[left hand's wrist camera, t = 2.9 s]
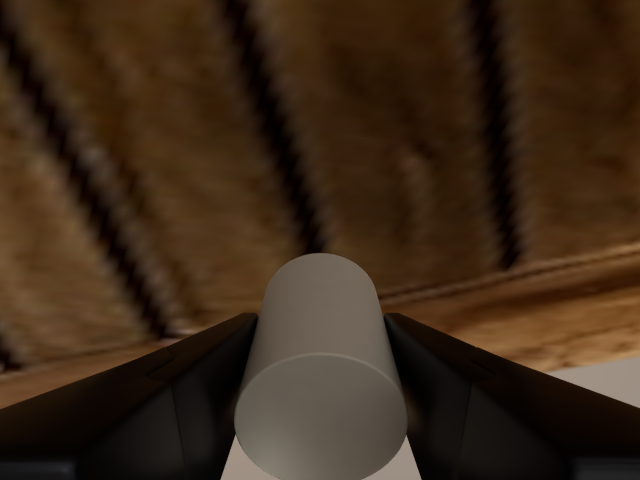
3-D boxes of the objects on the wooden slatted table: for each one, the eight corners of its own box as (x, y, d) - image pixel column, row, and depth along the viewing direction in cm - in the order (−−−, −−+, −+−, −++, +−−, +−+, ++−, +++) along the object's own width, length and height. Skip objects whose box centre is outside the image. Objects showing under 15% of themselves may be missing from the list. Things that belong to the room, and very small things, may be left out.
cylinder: (242, 314, 13) (200, 440, 8) (307, 229, 12) (300, 320, 7) (331, 368, 14) (338, 510, 9) (400, 294, 13) (446, 411, 8)
